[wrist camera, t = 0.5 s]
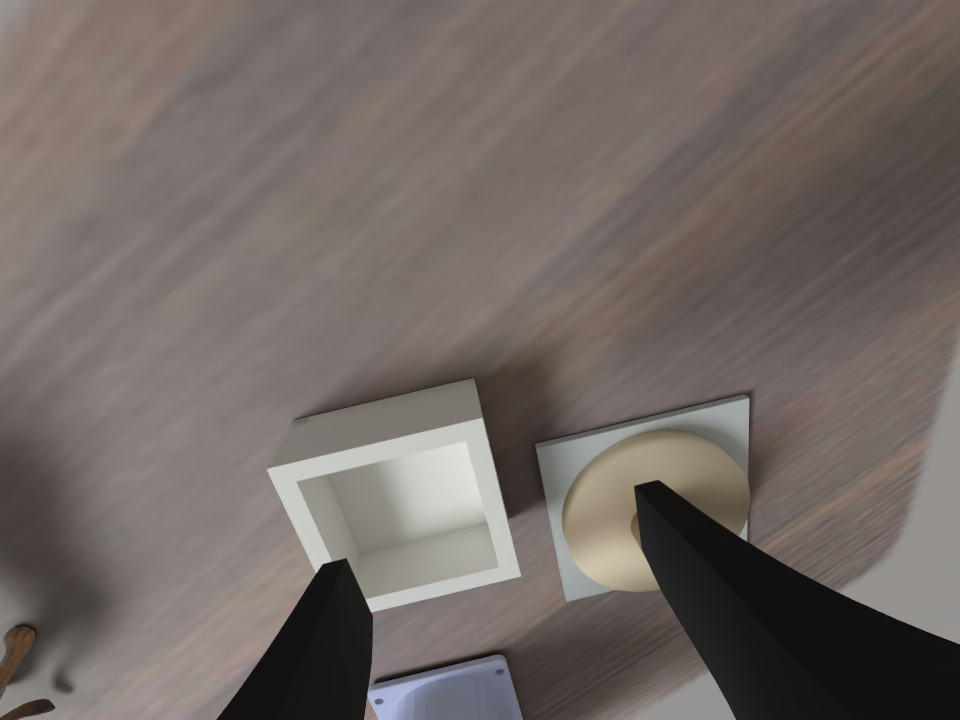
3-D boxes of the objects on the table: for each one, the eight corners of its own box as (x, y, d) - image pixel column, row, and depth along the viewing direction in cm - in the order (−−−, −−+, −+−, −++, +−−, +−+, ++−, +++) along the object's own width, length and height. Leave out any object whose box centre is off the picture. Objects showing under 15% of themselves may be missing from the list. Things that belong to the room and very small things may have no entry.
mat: (742, 552, 26) (746, 558, 26) (564, 595, 26) (566, 601, 26) (744, 394, 22) (749, 398, 22) (534, 443, 22) (536, 448, 22)
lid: (737, 553, 26) (805, 639, 21) (574, 592, 25) (606, 687, 21) (738, 409, 22) (819, 474, 17) (548, 454, 22) (580, 532, 17)
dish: (508, 520, 24) (520, 576, 20) (350, 557, 24) (338, 620, 20) (474, 377, 20) (482, 417, 17) (292, 420, 20) (266, 469, 17)
